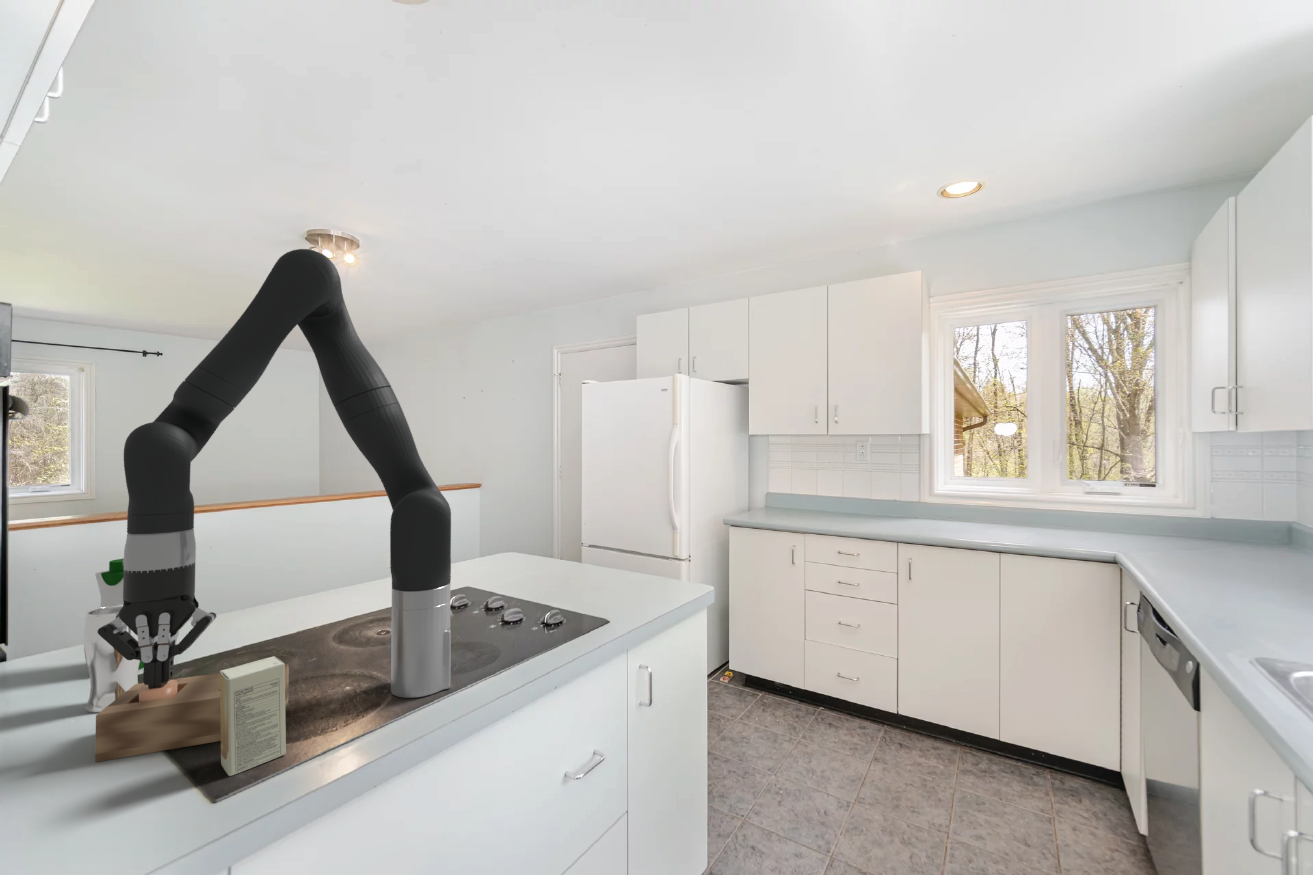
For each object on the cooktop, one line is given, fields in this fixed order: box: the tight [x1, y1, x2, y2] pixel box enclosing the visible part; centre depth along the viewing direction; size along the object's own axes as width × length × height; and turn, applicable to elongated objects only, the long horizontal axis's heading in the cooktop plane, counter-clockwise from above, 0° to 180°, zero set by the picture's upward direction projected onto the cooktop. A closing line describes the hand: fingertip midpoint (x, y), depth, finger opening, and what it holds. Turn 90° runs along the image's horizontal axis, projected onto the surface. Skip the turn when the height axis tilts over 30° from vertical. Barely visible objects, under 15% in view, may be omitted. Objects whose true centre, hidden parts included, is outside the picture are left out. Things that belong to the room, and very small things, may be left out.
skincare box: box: [219, 655, 287, 777], centre depth 70 cm, size 6×4×12 cm
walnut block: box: [94, 664, 290, 763], centre depth 78 cm, size 19×10×6 cm, turn 112°
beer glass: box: [83, 604, 140, 714], centre depth 86 cm, size 7×7×15 cm
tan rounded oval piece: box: [139, 679, 178, 702], centre depth 76 cm, size 4×4×5 cm
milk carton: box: [95, 558, 144, 671], centre depth 102 cm, size 9×9×20 cm
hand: (158, 685), depth 76 cm, fingers closed
